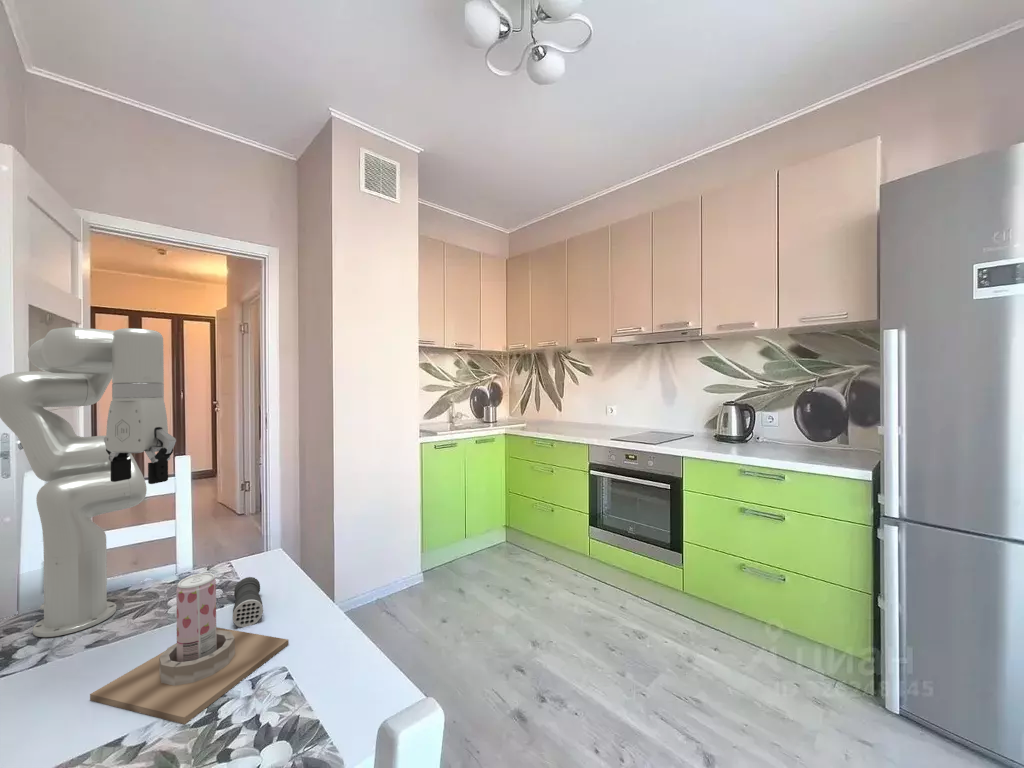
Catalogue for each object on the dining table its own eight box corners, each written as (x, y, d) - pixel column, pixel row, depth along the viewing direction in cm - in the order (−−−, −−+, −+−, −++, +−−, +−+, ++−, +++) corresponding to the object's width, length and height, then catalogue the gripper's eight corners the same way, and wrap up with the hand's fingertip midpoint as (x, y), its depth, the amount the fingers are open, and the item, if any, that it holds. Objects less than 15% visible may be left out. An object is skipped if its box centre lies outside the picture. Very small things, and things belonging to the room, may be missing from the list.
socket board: (90, 700, 68) (89, 675, 68) (208, 630, 87) (208, 611, 87) (184, 724, 63) (184, 697, 63) (288, 644, 82) (288, 624, 82)
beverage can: (209, 650, 79) (208, 569, 79) (222, 661, 76) (221, 577, 76) (172, 666, 74) (171, 581, 75) (183, 679, 71) (182, 589, 71)
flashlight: (233, 600, 100) (233, 577, 100) (260, 594, 103) (260, 572, 103) (232, 630, 87) (232, 604, 87) (263, 622, 90) (262, 597, 90)
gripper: (83, 393, 80) (84, 483, 80) (150, 392, 76) (151, 488, 76) (128, 393, 88) (129, 475, 88) (192, 392, 83) (192, 479, 83)
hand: (139, 481), depth 82 cm, fingers open, 9 cm apart
